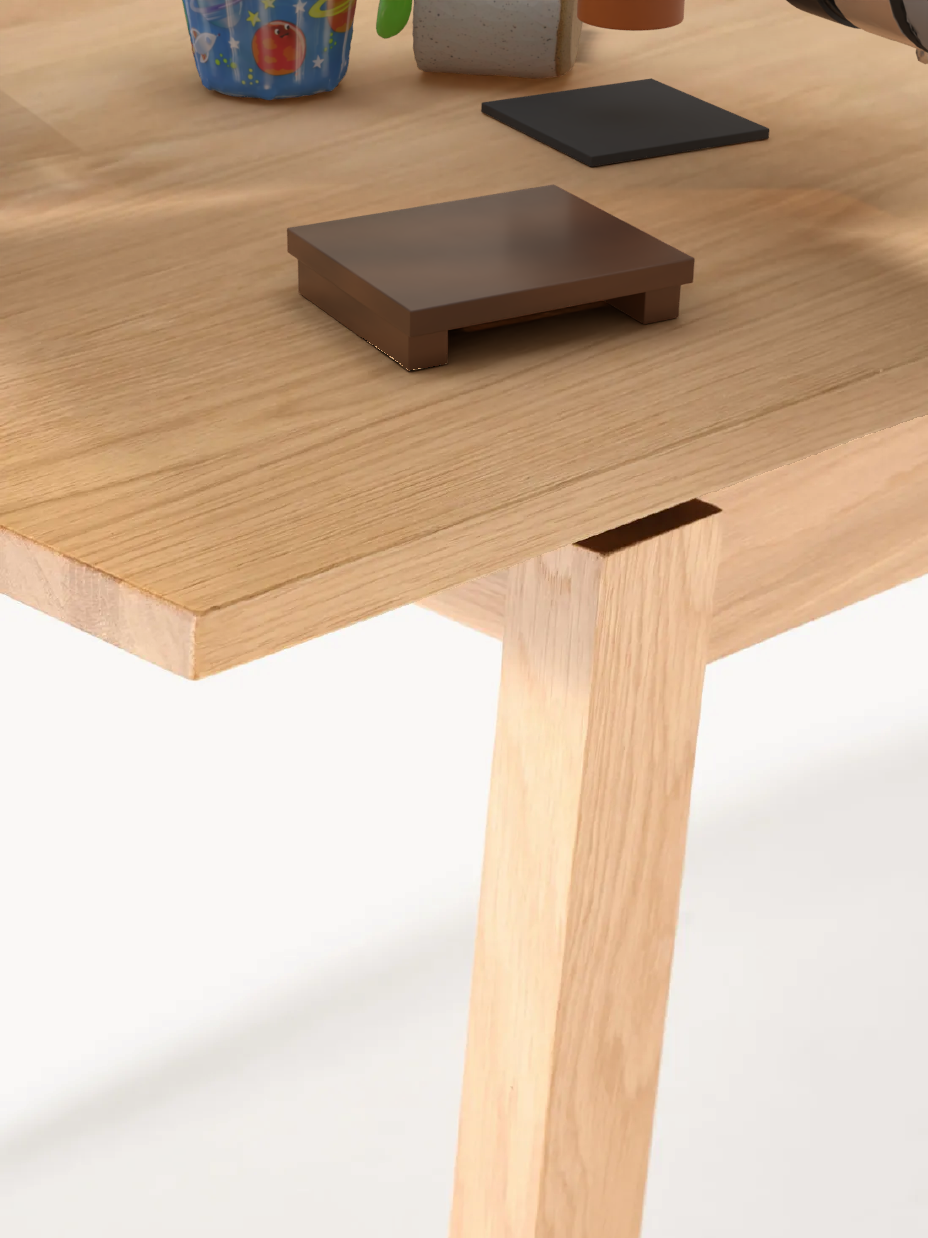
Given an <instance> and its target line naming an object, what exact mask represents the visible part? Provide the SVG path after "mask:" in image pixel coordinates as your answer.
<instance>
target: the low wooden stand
mask: <svg viewBox="0 0 928 1238" xmlns="http://www.w3.org/2000/svg"><path fill="white" fill-rule="evenodd" d="M286 244H287V245H286V246H287V247H286V249H287V253H288V254H289V255H290V256H292V257H294V258H295V259H297V279H298V280H297V283H298V284H297V285H298V287H297V289H298V294H299V295H301V296H303V297H304V298H305V299H306V300H308V301H310V302H311V303H312V304H314V305H315V306H317V308H319V309H321V310H322V311H324V312H325V313H326V314H328V315H329V316H330V317H332V318H333V319H334V320H336V321H337V322H339V323H340V324H342V326H344V327H346V328H347V329H348V330H350V331H351V332H352V333H354V334H356V335H357V336H358V337H359V338H361V337H362V338H361V339H363V338H364V339H365V340H367V341H368V342H370V343H371V344H373V345H374V346H377V348H379V349H380V350H382V351H383V352H385V353H386V354H388V356H391V357H393V358H394V360H396V361H398V363H401V365H403V367H404V368H407V369H408V370H413V369H418V368H425V369H429V368H428V367H430V368H434V367H433V366H435V367H439V365H440V364H441V365H440V366H444V364H445V363H447V364H448V360H449V359H448V357H449V355H448V354H449V353H448V352H449V331H451V330H457V329H463V328H467V327H472V326H477V325H483V324H488V323H492V322H498V321H503V320H508V319H514V318H519V317H524V316H529V315H535V314H539V313H545V312H549V311H555V310H560V309H566V308H571V307H575V306H581V305H586V304H591V303H596V302H601V301H602V302H605V303H607V304H608V305H609V306H611V307H613V308H615V309H617V310H618V311H620V312H622V313H624V314H625V315H627V316H628V317H630V318H632V319H634V320H635V321H637V322H638V323H640V324H643V325H647V324H652V323H657V322H663V321H668V320H673V319H677V318H679V316H680V315H679V314H680V304H681V303H680V301H681V286H683V285H684V286H685V285H689V284H693V283H694V274H695V261H696V259H695V257H693V256H691V255H690V254H688V253H686V252H684V251H682V250H680V249H678V248H676V247H674V246H672V245H671V244H669V243H667V242H664V241H663V240H661V239H659V238H657V237H655V236H653V235H651V234H649V233H648V232H645V231H644V230H642V229H640V228H639V227H636V226H635V225H633V224H630V223H628V222H626V221H625V220H622V219H620V218H619V217H617V216H615V215H614V214H611V213H609V212H608V211H605V210H604V209H601V208H599V207H598V206H596V205H594V204H592V203H590V202H588V201H587V200H584V199H583V198H581V197H579V196H577V195H575V194H573V193H571V192H569V191H567V190H566V189H563V188H561V186H558V185H556V184H548V185H547V184H546V185H540V186H535V187H528V188H523V189H517V190H511V191H505V192H504V191H503V192H499V193H493V194H487V195H486V194H485V195H480V196H474V197H468V198H463V199H457V200H450V201H443V202H438V203H432V204H425V205H419V206H414V207H413V206H412V207H407V208H401V209H395V210H387V211H383V212H376V213H370V214H364V215H357V216H352V217H346V218H340V219H334V220H328V221H322V222H321V221H320V222H315V223H310V224H303V225H297V226H291V227H287V228H286ZM364 339H363V340H364ZM365 340H364V341H365ZM367 341H366V342H367ZM368 342H367V343H368ZM370 343H369V344H370ZM371 344H370V345H371ZM374 346H373V347H374ZM388 356H387V357H388ZM445 365H446V364H445ZM403 367H402V368H403ZM404 368H403V369H404Z"/></svg>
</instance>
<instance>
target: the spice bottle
mask: <svg viewBox="0 0 928 1238" xmlns="http://www.w3.org/2000/svg"><path fill="white" fill-rule="evenodd" d="M685 5H686V0H577V17H578V19H579V20H580V21H582V23H584V24H586V25H588V26H592V27H596V28H600V29H601V28H602V29H606V30H615V31H633V32H636V31H637V32H638V31H639V32H641V31H657V30H664V29H669V28H672V27H675V26H678V25H680V24H682V22H683V21H684V19H685Z"/></svg>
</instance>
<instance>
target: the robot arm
mask: <svg viewBox="0 0 928 1238" xmlns="http://www.w3.org/2000/svg"><path fill="white" fill-rule="evenodd" d="M785 1H786V2H787V3H789V4H790V5H791V6H793V7H794V8H795V9H798V10H800V11H802V12H803V13H804V12H805V13H807V14H811V15H812V16H817V17H819V18H822V19H824V20H827V21H831V22H833V23H835V24H839V25H842V26H844V27H848V28H851V29H857V30H862V31H864V32H867V33H869V34H872V35H876V36H878V37H881V38H883V39H887V40H890V41H893V42H897V43H900V44H903V45H906V46H908V47H911V48H914V49H915V55H916V59H917V61H918V62H920V63H922V64H924V65H928V0H785Z"/></svg>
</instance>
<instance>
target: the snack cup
mask: <svg viewBox="0 0 928 1238" xmlns="http://www.w3.org/2000/svg"><path fill="white" fill-rule="evenodd" d="M181 1H182V2H181V3H182V7H183V12H184V18H185V23H186V26H187V27H186V28H187V32H188V36H189V39H190V40H189V41H190V44H191V52H192V57H193V59H194V62H195V63H194V64H195V67H196V70H197V74H198V76H199V78H200V80H201V84H202V86H203V87H204V88H206V89H207V90H208V91H215V92H217V93H220V94H222V95H226V96H229V97H232V98H233V97H234V98H247V99H248V98H250V99H261V100H265V101H272V100H284V99H290V98H292V99H293V98H294V99H295V98H301V97H309V96H314V95H317V94H320V93H325V92H327V93H328V92H332V91H334V90H335V88H337V87H338V86H339V83H340V82H341V81H342V80H343V79H344V78H345V76H346V75H347V72H348V68H349V64H350V55H351V54H350V53H351V49H352V48H351V47H352V46H351V45H352V40H353V34H354V21H355V15H356V14H355V13H356V9H357V2H358V0H181ZM412 11H413V0H379V2H378V7H377V14H376V22H375V30H376V33H377V35H378V36H379V37H380V38H382V39H385V40H386V39H390V38H392V37H394V36H398V34H400V33H401V32H402V31H403V30H404V29H405V27H406V26H407V24H408V22H409V20H410V16H411V13H412Z"/></svg>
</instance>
